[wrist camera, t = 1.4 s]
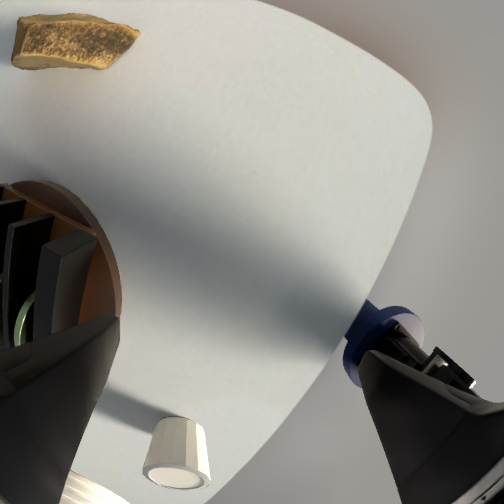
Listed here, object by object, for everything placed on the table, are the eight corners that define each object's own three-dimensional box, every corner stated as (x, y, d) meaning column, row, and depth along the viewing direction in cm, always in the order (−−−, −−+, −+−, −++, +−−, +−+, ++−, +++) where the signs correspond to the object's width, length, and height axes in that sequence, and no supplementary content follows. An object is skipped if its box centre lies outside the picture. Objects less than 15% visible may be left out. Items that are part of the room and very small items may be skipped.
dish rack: (103, 234, 17) (56, 260, 11) (75, 374, 20) (50, 419, 14) (6, 182, 15) (-46, 189, 9) (-6, 320, 18) (-39, 349, 11)
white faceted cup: (156, 443, 25) (149, 487, 19) (145, 410, 24) (134, 459, 17) (211, 447, 26) (212, 493, 20) (208, 415, 25) (208, 467, 18)
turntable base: (162, 269, 20) (158, 275, 19) (81, 386, 22) (76, 395, 21) (23, 142, 16) (13, 141, 14) (-25, 283, 18) (-32, 288, 16)
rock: (-3, 87, 12) (33, 131, 13) (-12, 13, 4) (16, 32, 5) (86, 38, 17) (139, 69, 18) (96, -28, 10) (161, -14, 11)
